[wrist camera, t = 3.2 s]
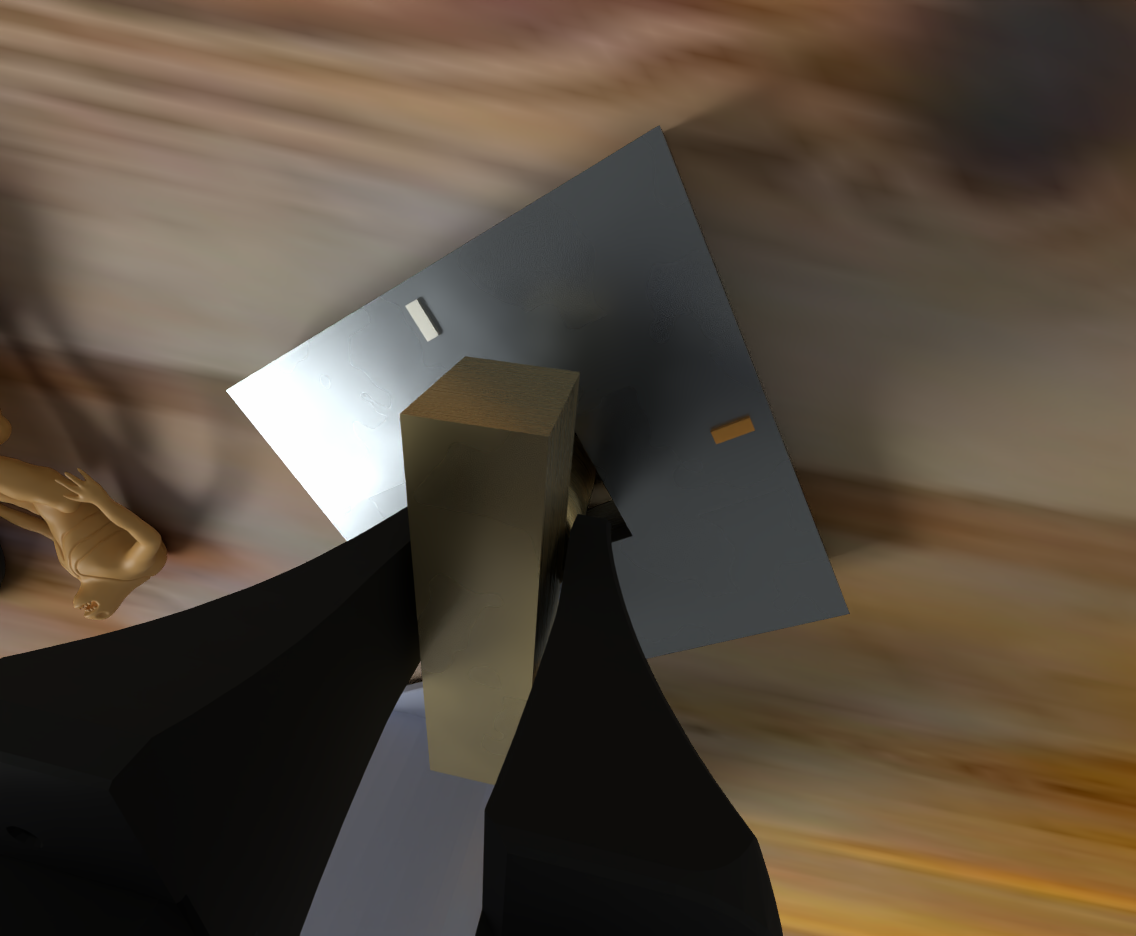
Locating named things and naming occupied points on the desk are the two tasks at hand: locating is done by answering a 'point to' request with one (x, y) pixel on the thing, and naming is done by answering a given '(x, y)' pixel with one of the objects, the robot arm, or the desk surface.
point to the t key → (488, 545)
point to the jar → (2, 565)
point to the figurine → (82, 530)
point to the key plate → (582, 399)
